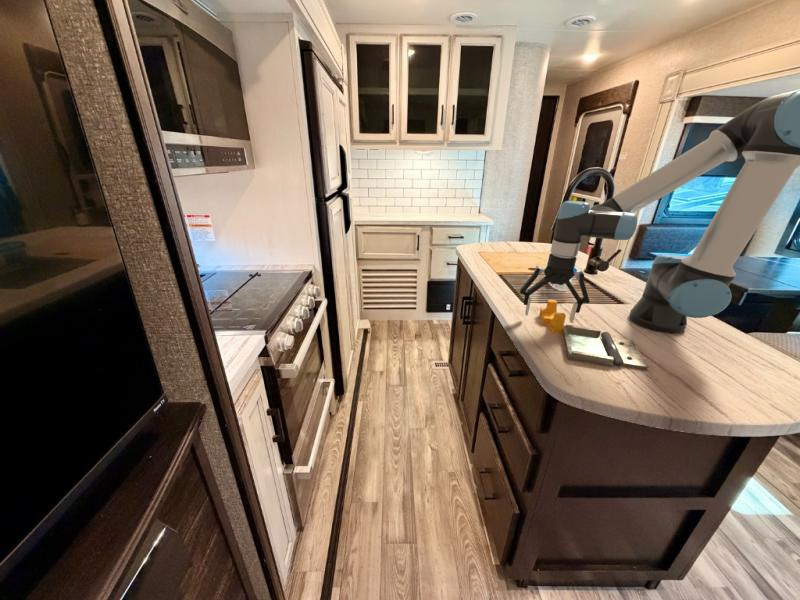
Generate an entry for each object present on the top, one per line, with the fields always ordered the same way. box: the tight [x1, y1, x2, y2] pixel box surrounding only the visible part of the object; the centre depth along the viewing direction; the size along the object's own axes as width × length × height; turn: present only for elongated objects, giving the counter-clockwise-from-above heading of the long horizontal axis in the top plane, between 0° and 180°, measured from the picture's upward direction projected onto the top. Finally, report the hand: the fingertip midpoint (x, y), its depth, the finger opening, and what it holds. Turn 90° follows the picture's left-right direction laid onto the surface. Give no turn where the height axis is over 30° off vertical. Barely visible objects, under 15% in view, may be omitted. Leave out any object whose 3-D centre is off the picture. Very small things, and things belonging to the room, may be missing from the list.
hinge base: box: [561, 324, 649, 371], centre depth 92 cm, size 19×17×2 cm
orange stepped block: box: [538, 299, 567, 335], centre depth 105 cm, size 12×4×6 cm, turn 169°
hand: (548, 317), depth 106 cm, fingers open, 13 cm apart
